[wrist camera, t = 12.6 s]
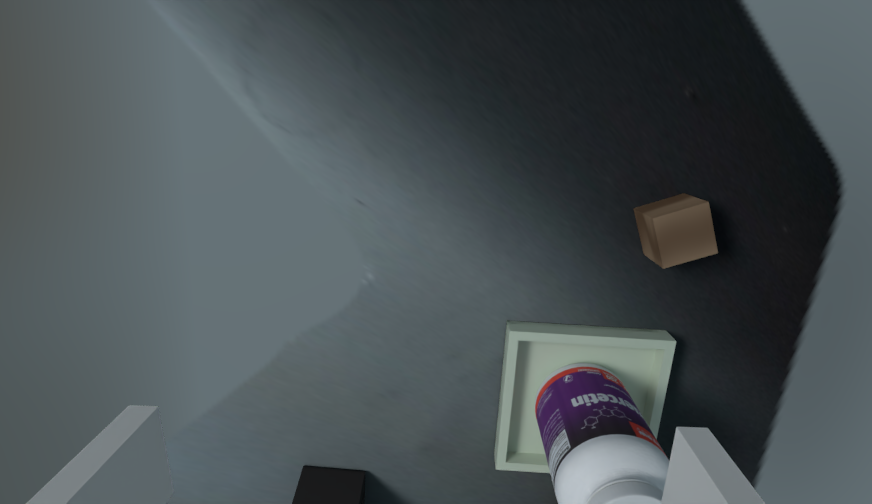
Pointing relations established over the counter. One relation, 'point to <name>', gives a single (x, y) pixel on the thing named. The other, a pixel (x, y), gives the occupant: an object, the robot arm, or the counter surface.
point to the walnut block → (676, 230)
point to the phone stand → (330, 486)
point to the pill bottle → (597, 439)
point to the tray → (563, 345)
